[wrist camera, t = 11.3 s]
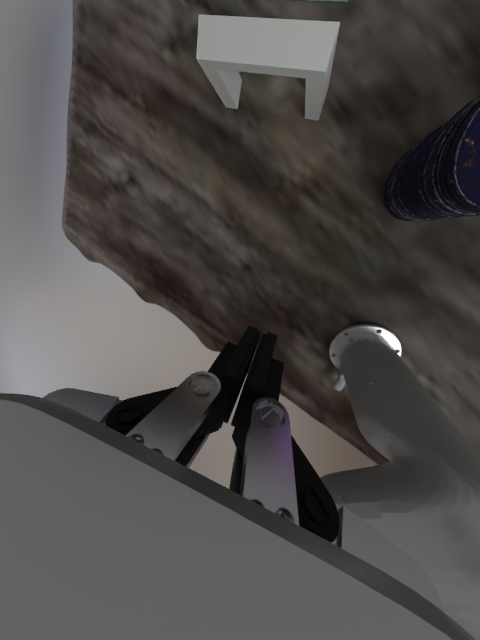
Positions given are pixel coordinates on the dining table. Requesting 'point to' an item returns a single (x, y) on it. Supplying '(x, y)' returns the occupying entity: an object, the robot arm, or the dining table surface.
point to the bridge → (267, 54)
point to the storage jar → (439, 172)
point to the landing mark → (331, 0)
